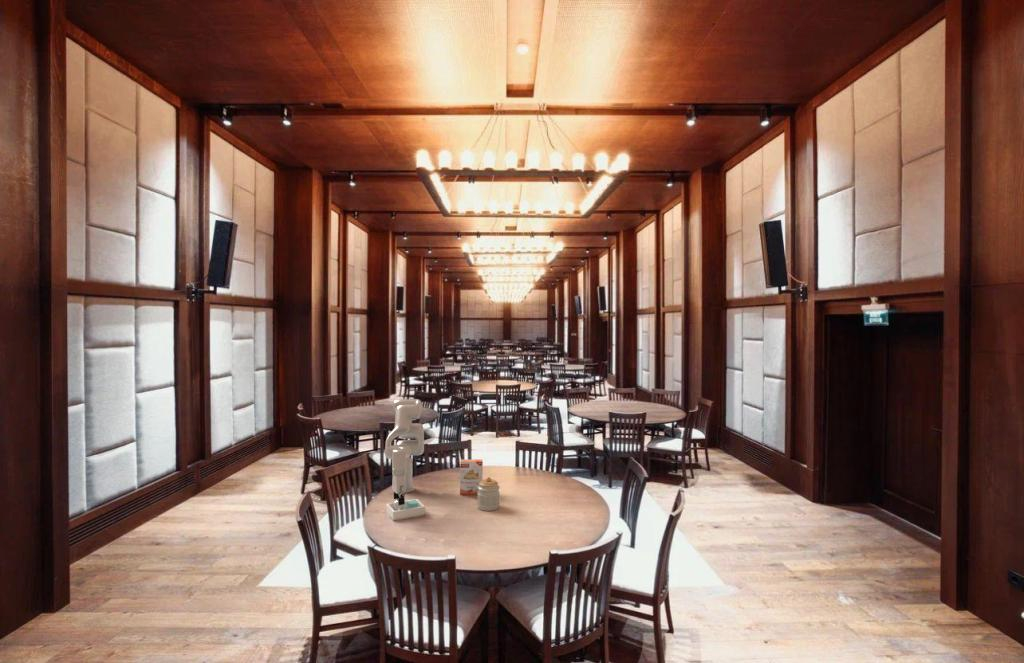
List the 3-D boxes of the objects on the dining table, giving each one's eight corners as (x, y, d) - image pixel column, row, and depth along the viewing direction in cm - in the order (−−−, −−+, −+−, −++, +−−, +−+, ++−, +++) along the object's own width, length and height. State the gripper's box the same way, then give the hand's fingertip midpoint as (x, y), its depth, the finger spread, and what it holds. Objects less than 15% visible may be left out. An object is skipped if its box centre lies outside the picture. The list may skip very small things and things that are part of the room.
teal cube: (406, 510, 300) (406, 501, 300) (415, 508, 302) (415, 500, 302) (409, 513, 295) (409, 504, 295) (418, 511, 298) (418, 502, 298)
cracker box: (459, 495, 330) (460, 461, 329) (459, 492, 336) (460, 459, 335) (482, 494, 331) (482, 461, 330) (482, 491, 337) (482, 458, 336)
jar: (473, 509, 306) (473, 478, 305) (483, 502, 318) (484, 472, 317) (493, 512, 300) (493, 481, 300) (503, 505, 312) (503, 475, 312)
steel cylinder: (392, 512, 296) (392, 499, 296) (401, 511, 299) (401, 498, 298) (395, 515, 292) (395, 502, 292) (404, 514, 294) (404, 501, 294)
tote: (386, 512, 299) (386, 503, 299) (417, 507, 307) (417, 498, 307) (393, 521, 286) (393, 511, 286) (425, 515, 295) (425, 506, 295)
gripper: (388, 467, 301) (388, 497, 302) (396, 476, 286) (396, 508, 287) (401, 466, 305) (401, 495, 306) (410, 474, 290) (410, 505, 290)
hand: (399, 501), depth 296 cm, fingers open, 9 cm apart
